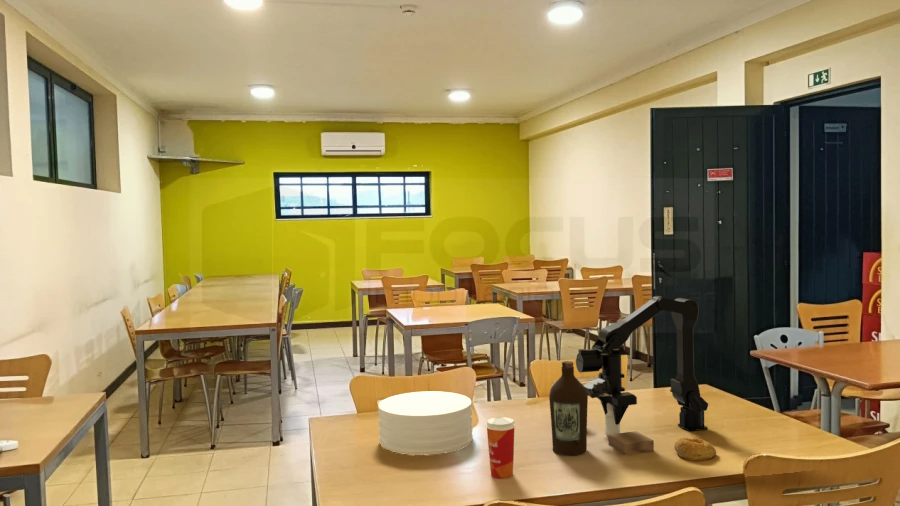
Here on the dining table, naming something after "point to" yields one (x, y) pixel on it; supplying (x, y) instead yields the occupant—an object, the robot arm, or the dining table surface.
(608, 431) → the pepper shaker
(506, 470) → the paper cup
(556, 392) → the olive oil
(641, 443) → the walnut block
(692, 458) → the bagel
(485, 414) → the dining table surface
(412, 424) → the plate stack
